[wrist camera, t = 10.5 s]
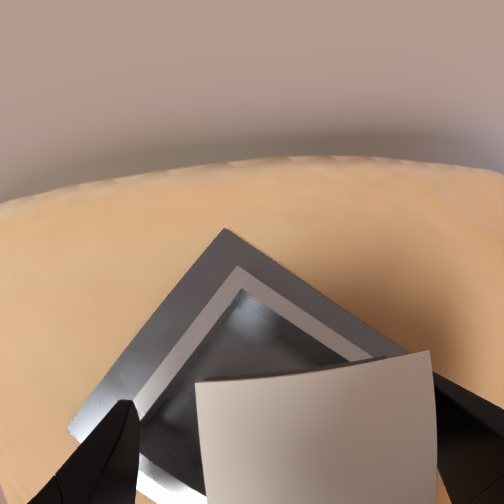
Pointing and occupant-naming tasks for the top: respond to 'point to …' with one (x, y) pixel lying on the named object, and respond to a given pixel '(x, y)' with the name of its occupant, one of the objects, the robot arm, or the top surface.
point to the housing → (219, 355)
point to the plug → (321, 434)
